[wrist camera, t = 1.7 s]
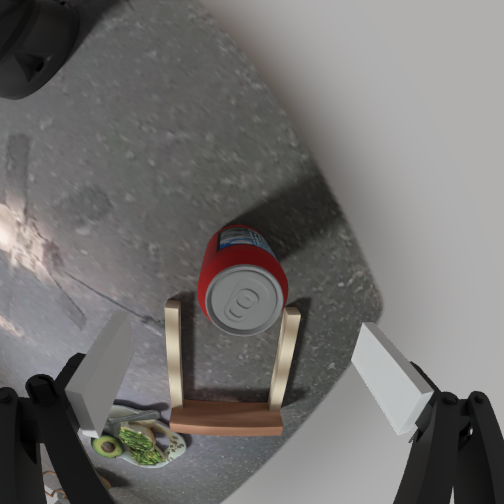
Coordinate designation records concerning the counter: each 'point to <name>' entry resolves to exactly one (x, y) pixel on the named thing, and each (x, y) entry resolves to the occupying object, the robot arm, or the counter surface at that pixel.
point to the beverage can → (241, 282)
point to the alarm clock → (61, 498)
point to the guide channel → (228, 413)
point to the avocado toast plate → (137, 438)
